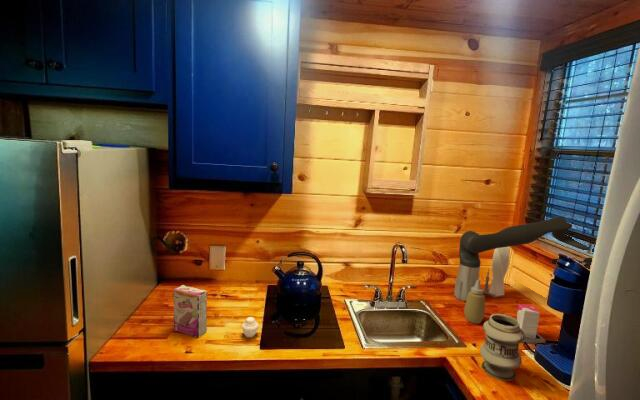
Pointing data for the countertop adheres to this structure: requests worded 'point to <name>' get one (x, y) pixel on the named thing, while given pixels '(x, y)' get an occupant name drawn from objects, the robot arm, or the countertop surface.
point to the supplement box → (528, 320)
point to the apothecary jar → (501, 346)
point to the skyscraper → (498, 272)
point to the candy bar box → (190, 310)
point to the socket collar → (534, 339)
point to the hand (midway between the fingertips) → (558, 264)
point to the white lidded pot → (250, 327)
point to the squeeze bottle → (475, 304)
